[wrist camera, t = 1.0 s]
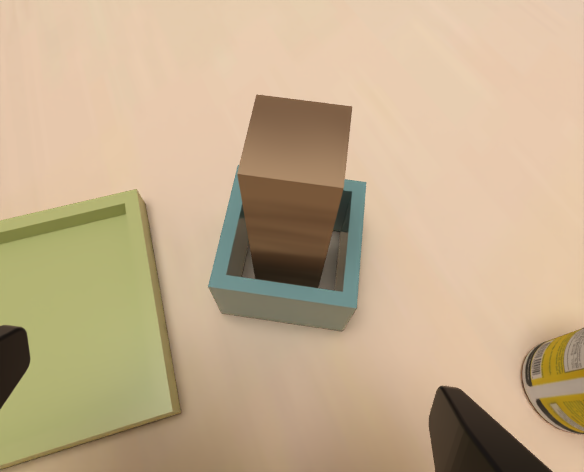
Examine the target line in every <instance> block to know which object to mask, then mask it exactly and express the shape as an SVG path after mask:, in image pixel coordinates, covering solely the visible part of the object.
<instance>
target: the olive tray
mask: <svg viewBox="0 0 584 472" xmlns="http://www.w3.org/2000/svg"><path fill="white" fill-rule="evenodd" d="M2 325H12V326H19V327H23V328H24V329H25V330H26V331H27V336H28V343H29V350H30V358H31V359H30V364H29V367H28V369H27V371H26V372H25V374H24V375H23V377H22V378H21V380H20V381H19V383H18V384H17V386H16V387H15V389H14V390H13V392H12V393H11V395H10V396H9V398H8V399H7V400H6V402H5V403H4V405H3V406H2V408H1V409H0V470H1V469H4V468H7V467H11V466H14V465H17V464H20V463H23V462H26V461H30V460H33V459H36V458H39V457H42V456H45V455H49V454H52V453H55V452H58V451H61V450H64V449H68V448H71V447H74V446H77V445H80V444H83V443H87V442H90V441H93V440H96V439H99V438H102V437H106V436H109V435H112V434H115V433H118V432H121V431H125V430H128V429H131V428H134V427H137V426H140V425H144V424H147V423H150V422H153V421H156V420H160V419H163V418H166V417H169V416H172V415H175V414H179V413H181V410H180V404H179V398H178V393H177V387H176V381H175V375H174V369H173V363H172V357H171V352H170V346H169V340H168V334H167V328H166V322H165V316H164V310H163V305H162V299H161V293H160V287H159V281H158V275H157V269H156V263H155V258H154V252H153V246H152V240H151V234H150V228H149V222H148V217H147V211H146V205H145V203H144V201H143V199H142V198H141V196H140V194H139V193H138V191H137V189H135V190H130V191H126V192H122V193H117V194H113V195H109V196H105V197H100V198H96V199H92V200H87V201H83V202H79V203H74V204H70V205H66V206H61V207H57V208H53V209H48V210H44V211H40V212H35V213H31V214H27V215H22V216H18V217H14V218H9V219H5V220H1V221H0V326H2Z"/></svg>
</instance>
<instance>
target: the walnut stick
mask: <svg viewBox="0 0 584 472" xmlns="http://www.w3.org/2000/svg"><path fill="white" fill-rule="evenodd" d="M351 113H352V107H351V106H343V105H335V104H328V103H320V102H312V101H304V100H296V99H288V98H280V97H272V96H264V95H256V99H255V103H254V107H253V111H252V115H251V119H250V123H249V127H248V132H247V136H246V140H245V144H244V148H243V152H242V156H241V160H240V165H239V169H238V173H237V175H238V181H239V187H240V193H241V199H242V204H243V210H244V216H245V222H246V228H247V233H248V239H249V245H250V251H251V257H252V262H253V268H254V274H255V279H257V280H264V281H271V282H278V283H285V284H292V285H299V286H306V287H313V288H318V286H319V282H320V278H321V275H322V271H323V267H324V263H325V259H326V255H327V251H328V247H329V243H330V240H331V236H332V232H333V228H334V224H335V220H336V216H337V212H338V208H339V205H340V201H341V197H342V193H343V189H344V180H345V171H346V161H347V152H348V142H349V132H350V123H351Z"/></svg>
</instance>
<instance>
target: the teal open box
mask: <svg viewBox="0 0 584 472" xmlns="http://www.w3.org/2000/svg"><path fill="white" fill-rule="evenodd" d="M238 169H239V165H238V167H237V171H236V175H235V179H234V183H233V187H232V191H231V195H230V200H229V204H228V208H227V212H226V216H225V220H224V224H223V228H222V232H221V236H220V240H219V244H218V249H217V253H216V257H215V261H214V265H213V269H212V273H211V277H210V281H209V285H208V287H209V289H210V291H211V293H212V295H213V297H214V299H215V301H216V303H217V305H218V307H219V309H220V311H221V313H223V314H229V315H236V316H243V317H250V318H256V319H263V320H270V321H276V322H283V323H290V324H297V325H303V326H310V327H317V328H324V329H330V330H337V331H343V330H344V328H345V326H346V325H347V323H348V322H349V320H350V318H351V317H352V315H353V314H354V312H355V310H356V309H357V297H358V284H359V271H360V257H361V244H362V231H363V218H364V205H365V192H366V182H361V181H353V180H346V179H345V180H344V189H343V193H342V197H341V201H340V205H339V208H338V212H337V216H336V220H335V224H334V228H333V231H340V240H339V249H338V259H337V269H336V279H335V289H334V291H333V290H327V289H320V288H313V287H306V286H299V285H292V284H285V283H278V282H271V281H264V280H257V279H251V278H244V277H242V273H243V268H244V263H245V258H246V254H247V249H248V244H249V239H248V233H247V228H246V222H245V216H244V210H243V204H242V199H241V193H240V187H239V181H238V175H237V173H238Z"/></svg>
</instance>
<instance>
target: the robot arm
mask: <svg viewBox="0 0 584 472" xmlns="http://www.w3.org/2000/svg"><path fill="white" fill-rule="evenodd" d="M30 359H31V358H30V350H29V343H28V336H27V331H26V330H25V329H24V328H23V327H19V326H12V325H2V326H0V409H1V408H2V406H3V405H4V403H5V402H6V400H7V399H8V398H9V396H10V395H11V393H12V392H13V390H14V389H15V387H16V386H17V384H18V383H19V381H20V380H21V378H22V377H23V375H24V374H25V372H26V371H27V369H28V367H29V364H30ZM429 431H430V438H431V445H432V451H433V458H434V465H435V471H436V472H552V471H551V470H550V469H549V468H548V467H547V466H546V465H545V464H543V463H542V462H541V461H540V460H539V459H538V458H537V457H536V456H535V455H533V454H532V453H531V452H530V451H529V450H528V449H527V448H526V447H524V446H523V445H522V444H521V443H520V442H519V441H518V440H517V439H516V438H514V437H513V436H512V435H511V434H510V433H509V432H508V431H507V430H506V429H504V428H503V427H502V426H501V425H500V424H499V423H498V422H497V421H496V420H494V419H493V418H492V417H491V416H490V415H489V414H488V413H487V412H486V411H484V410H483V409H482V408H481V407H480V406H479V405H478V404H477V403H475V402H474V401H473V400H472V399H471V398H470V397H469V396H468V395H467V394H465V393H464V392H463V391H462V390H461V389H459V388H456V387H449V386H440V387H439V388H438V389H437V391H436V394H435V398H434V401H433V405H432V408H431V412H430V415H429Z"/></svg>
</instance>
